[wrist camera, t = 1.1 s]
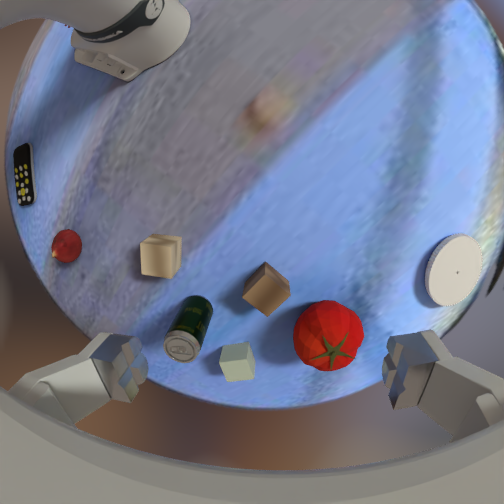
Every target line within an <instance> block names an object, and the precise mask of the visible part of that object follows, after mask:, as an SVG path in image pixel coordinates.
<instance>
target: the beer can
mask: <svg viewBox="0 0 504 504" xmlns="http://www.w3.org/2000/svg"><path fill="white" fill-rule="evenodd" d="M212 314H213V308H212V305H211V303H210V302H209V300H208V299H206V298H205V297H203V296H200V295H194V296H190V297H188V298H187V299H186V300H185V301H184V303H183V304H182V306H181V308H180V310H179V312H178V313H177V315H176V317H175V319H174V321H173V323H172V325H171V326H170V328H169V330H168V332H167V334H166V336H165V339H164V345H163V347H164V351H165V352H166V354H167V355H168V356H169V357H170V358H171V359H173V360H175V361H177V362H181V363H189V362H192V361H193V360H194V359H195V358H196V357H197V356H198V355H199V352H200V350H201V347H202V344H203V341H204V338H205V335H206V332H207V329H208V326H209V323H210V320H211V317H212Z"/></svg>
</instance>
